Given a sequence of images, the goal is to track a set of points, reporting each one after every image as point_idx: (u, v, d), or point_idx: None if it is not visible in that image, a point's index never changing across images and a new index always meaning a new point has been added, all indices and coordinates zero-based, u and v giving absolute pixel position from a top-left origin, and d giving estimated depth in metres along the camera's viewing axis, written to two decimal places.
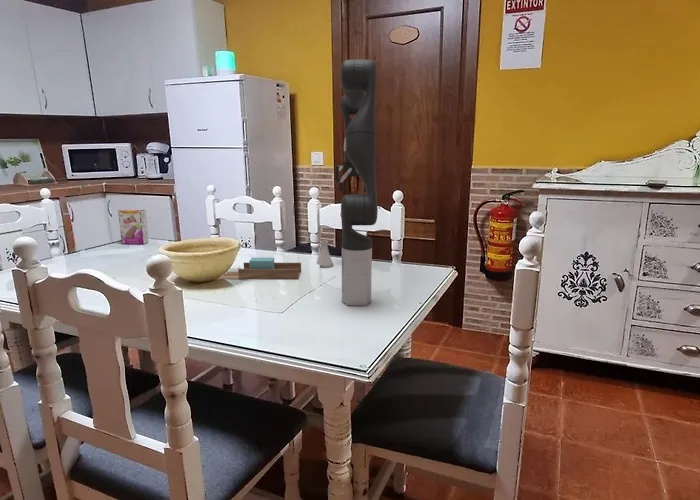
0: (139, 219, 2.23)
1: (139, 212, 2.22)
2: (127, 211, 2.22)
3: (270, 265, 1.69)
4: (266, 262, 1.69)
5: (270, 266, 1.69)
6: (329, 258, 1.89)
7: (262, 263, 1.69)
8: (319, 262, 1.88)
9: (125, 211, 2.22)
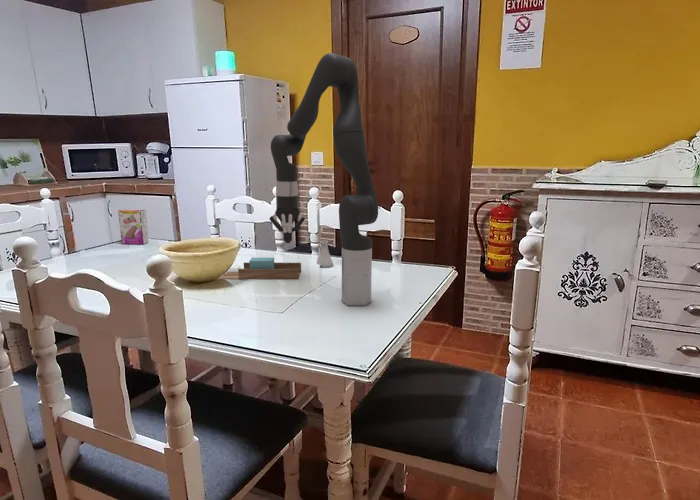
0: (139, 219, 2.23)
1: (139, 212, 2.22)
2: (127, 211, 2.22)
3: (270, 265, 1.69)
4: (266, 262, 1.69)
5: (270, 266, 1.69)
6: (329, 258, 1.89)
7: (262, 263, 1.69)
8: (319, 262, 1.88)
9: (125, 211, 2.22)
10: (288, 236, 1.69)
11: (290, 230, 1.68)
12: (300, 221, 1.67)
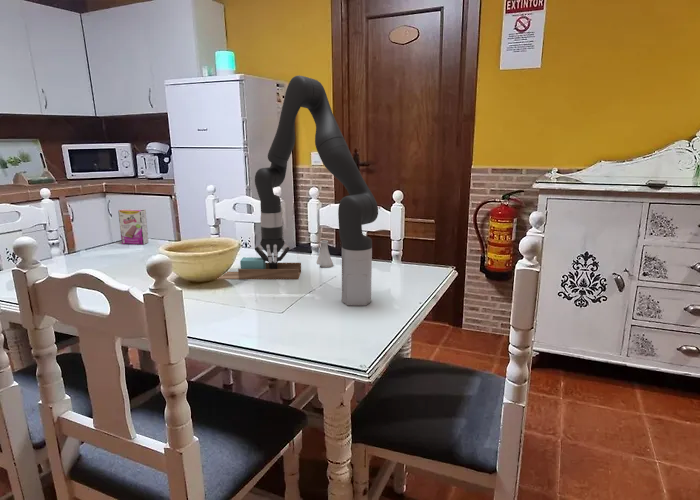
0: (139, 219, 2.23)
1: (139, 212, 2.22)
2: (127, 211, 2.22)
3: (261, 265, 1.69)
4: (257, 262, 1.69)
5: (261, 266, 1.69)
6: (329, 258, 1.89)
7: (253, 263, 1.69)
8: (319, 262, 1.88)
9: (125, 211, 2.22)
10: (273, 266, 1.71)
11: (275, 260, 1.70)
12: (285, 251, 1.70)
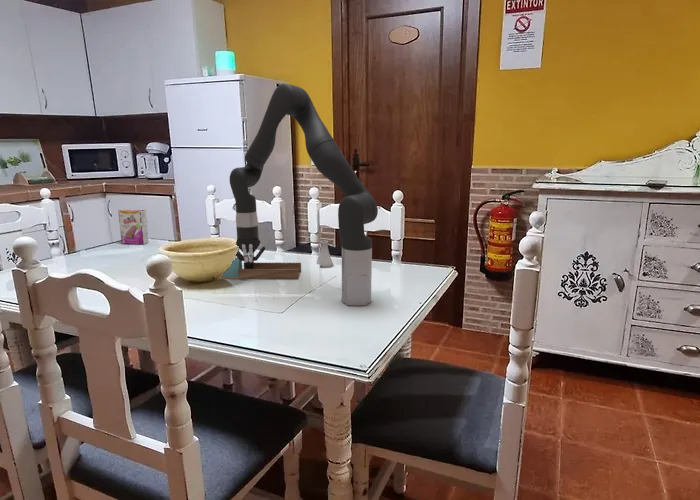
0: (139, 219, 2.23)
1: (139, 212, 2.22)
2: (127, 211, 2.22)
3: (237, 265, 1.69)
4: (233, 262, 1.69)
5: (236, 266, 1.70)
6: (329, 258, 1.89)
7: None
8: (319, 262, 1.88)
9: (125, 211, 2.22)
10: (249, 265, 1.71)
11: (251, 260, 1.70)
12: (261, 251, 1.70)
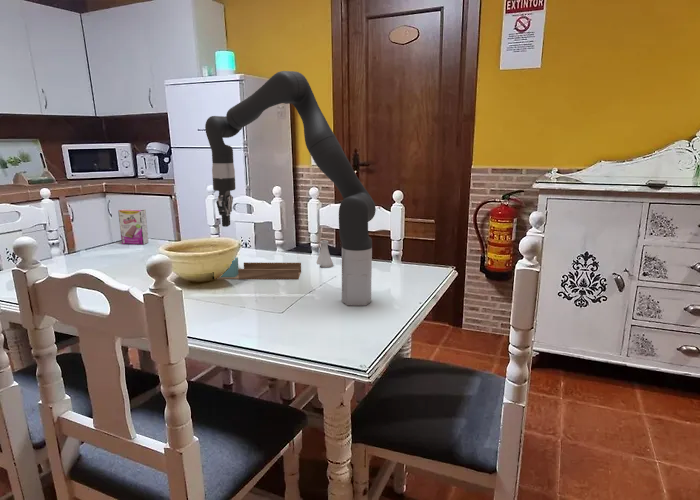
0: (139, 219, 2.23)
1: (139, 212, 2.22)
2: (127, 211, 2.22)
3: (233, 265, 1.69)
4: None
5: (232, 266, 1.70)
6: (329, 258, 1.89)
7: None
8: (319, 262, 1.88)
9: (125, 211, 2.22)
10: None
11: None
12: None
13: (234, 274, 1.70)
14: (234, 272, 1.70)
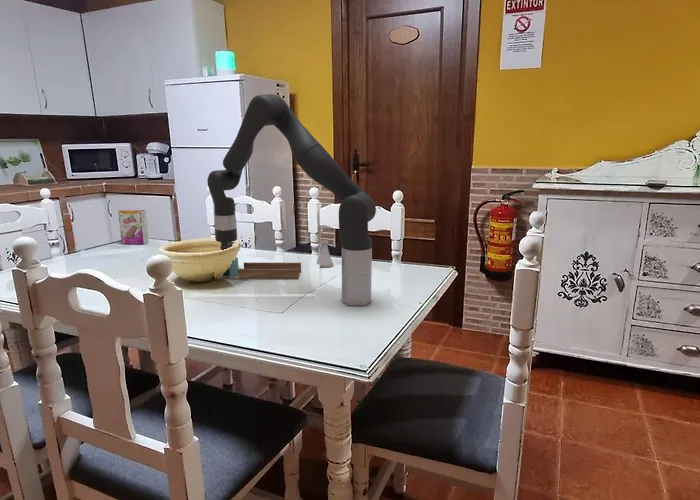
0: (139, 219, 2.23)
1: (139, 212, 2.22)
2: (127, 211, 2.22)
3: (233, 265, 1.69)
4: None
5: (232, 266, 1.70)
6: (329, 258, 1.89)
7: None
8: (319, 262, 1.88)
9: (125, 211, 2.22)
10: None
11: None
12: None
13: (234, 274, 1.70)
14: (234, 272, 1.70)
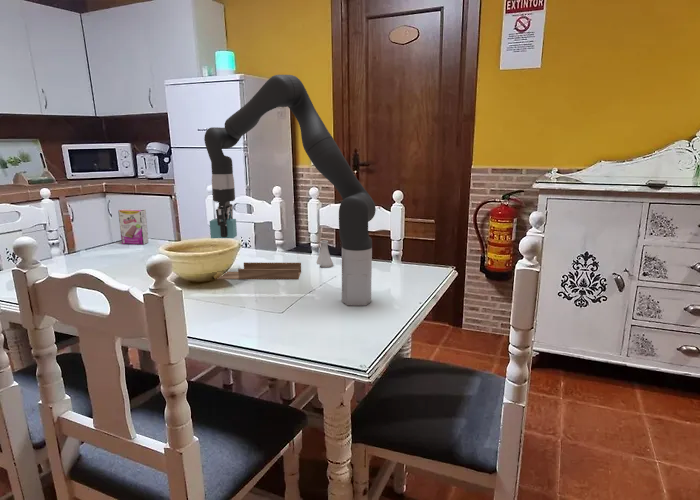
0: (139, 219, 2.23)
1: (139, 212, 2.22)
2: (127, 211, 2.22)
3: (231, 225, 1.66)
4: (227, 222, 1.66)
5: (230, 227, 1.66)
6: (329, 258, 1.89)
7: None
8: (319, 262, 1.88)
9: (125, 211, 2.22)
10: None
11: None
12: None
13: (232, 235, 1.67)
14: (232, 233, 1.67)
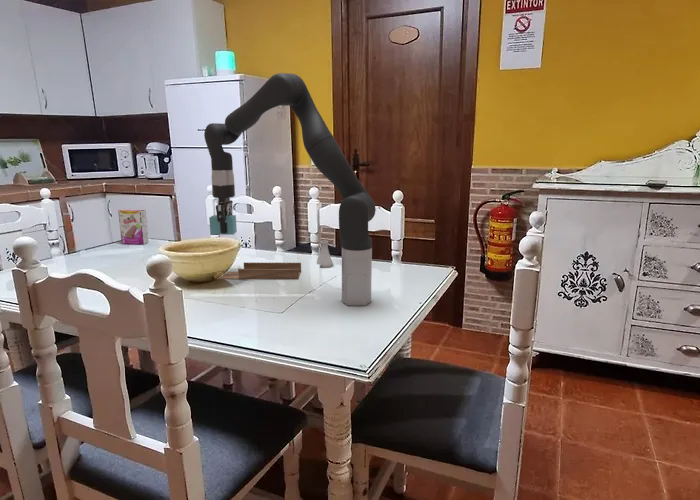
0: (139, 219, 2.23)
1: (139, 212, 2.22)
2: (127, 211, 2.22)
3: (231, 222, 1.66)
4: None
5: (230, 223, 1.66)
6: (329, 258, 1.89)
7: None
8: (319, 262, 1.88)
9: (125, 211, 2.22)
10: None
11: None
12: None
13: (232, 231, 1.67)
14: (232, 229, 1.66)
